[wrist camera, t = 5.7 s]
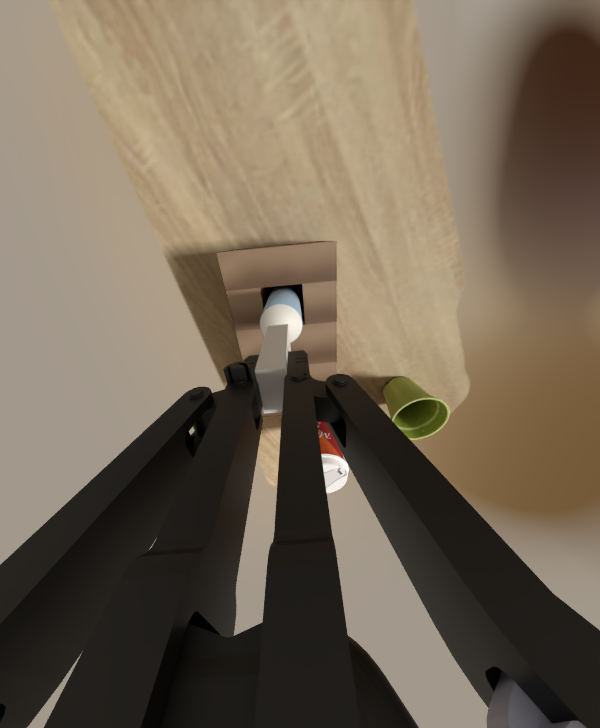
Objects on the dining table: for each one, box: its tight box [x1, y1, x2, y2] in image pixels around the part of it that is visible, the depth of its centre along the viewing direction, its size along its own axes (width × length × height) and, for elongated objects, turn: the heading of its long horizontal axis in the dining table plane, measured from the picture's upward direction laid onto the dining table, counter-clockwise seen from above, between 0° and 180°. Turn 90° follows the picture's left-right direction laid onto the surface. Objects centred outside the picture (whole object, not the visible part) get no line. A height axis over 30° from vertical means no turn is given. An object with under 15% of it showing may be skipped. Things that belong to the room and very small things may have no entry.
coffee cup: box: [317, 421, 349, 493], centre depth 39 cm, size 8×8×15 cm
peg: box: [260, 285, 303, 343], centre depth 24 cm, size 4×4×10 cm
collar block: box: [216, 241, 337, 417], centre depth 31 cm, size 22×12×10 cm, turn 5°
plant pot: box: [383, 377, 450, 440], centre depth 40 cm, size 9×9×9 cm
